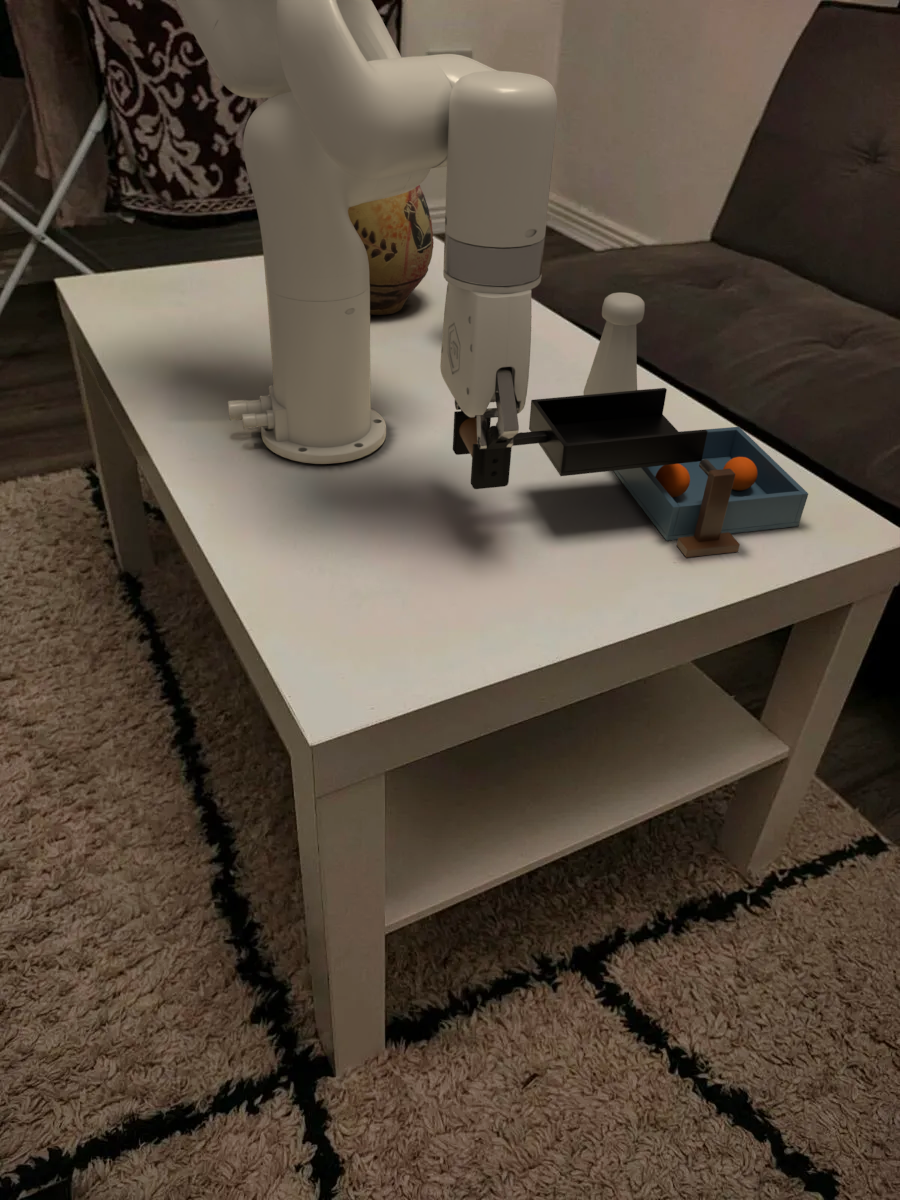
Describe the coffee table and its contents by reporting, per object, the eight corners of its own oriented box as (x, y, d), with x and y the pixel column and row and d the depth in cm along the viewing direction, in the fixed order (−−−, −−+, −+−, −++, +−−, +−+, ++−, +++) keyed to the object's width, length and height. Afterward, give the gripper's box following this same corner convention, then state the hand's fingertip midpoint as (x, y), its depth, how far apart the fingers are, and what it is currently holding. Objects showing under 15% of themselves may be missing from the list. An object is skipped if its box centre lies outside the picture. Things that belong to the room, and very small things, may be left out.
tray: (666, 540, 85) (673, 507, 83) (611, 468, 95) (616, 436, 93) (798, 526, 88) (808, 493, 86) (731, 457, 98) (739, 426, 96)
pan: (479, 485, 80) (480, 454, 78) (453, 436, 86) (454, 406, 85) (701, 461, 84) (708, 431, 82) (660, 416, 90) (665, 387, 89)
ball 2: (758, 460, 89) (767, 484, 91) (741, 444, 91) (751, 468, 93) (727, 479, 89) (737, 502, 91) (712, 462, 92) (722, 485, 94)
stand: (686, 557, 83) (703, 483, 79) (606, 454, 98) (617, 386, 93) (738, 551, 84) (758, 478, 80) (651, 450, 99) (664, 383, 94)
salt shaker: (632, 429, 102) (652, 309, 94) (578, 422, 103) (594, 303, 95) (634, 405, 107) (654, 290, 99) (583, 399, 108) (599, 284, 100)
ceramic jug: (429, 328, 123) (438, 62, 105) (308, 322, 122) (296, 54, 104) (433, 282, 136) (441, 40, 118) (324, 277, 136) (315, 33, 118)
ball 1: (701, 487, 89) (674, 509, 90) (686, 470, 92) (660, 492, 92) (685, 467, 87) (657, 490, 88) (670, 450, 90) (643, 472, 90)
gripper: (420, 227, 79) (416, 427, 90) (475, 300, 65) (463, 525, 76) (507, 224, 80) (493, 421, 91) (579, 295, 67) (552, 516, 78)
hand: (479, 466), depth 84 cm, fingers closed on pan, 5 cm apart
